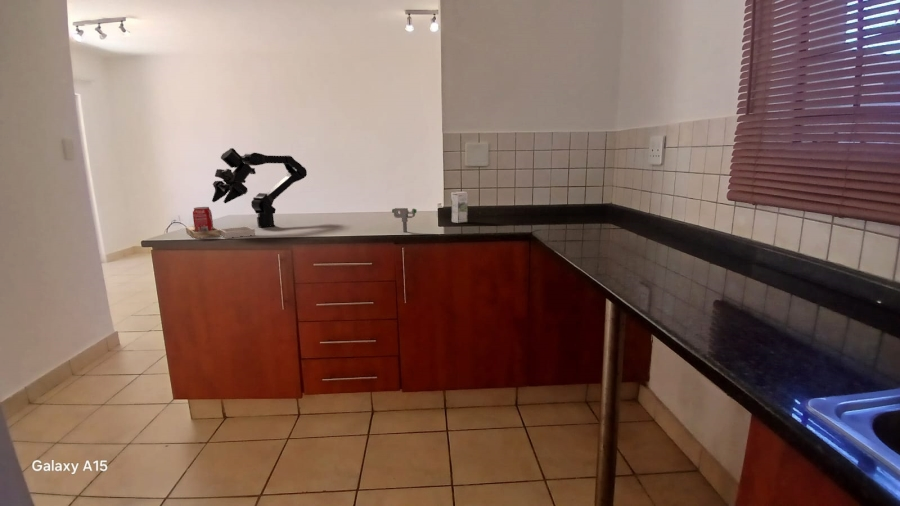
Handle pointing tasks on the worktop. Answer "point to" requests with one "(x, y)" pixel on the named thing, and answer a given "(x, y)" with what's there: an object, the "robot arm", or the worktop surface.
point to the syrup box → (459, 207)
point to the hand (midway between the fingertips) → (218, 202)
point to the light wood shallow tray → (202, 234)
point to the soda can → (202, 219)
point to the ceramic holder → (237, 232)
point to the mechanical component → (403, 215)
